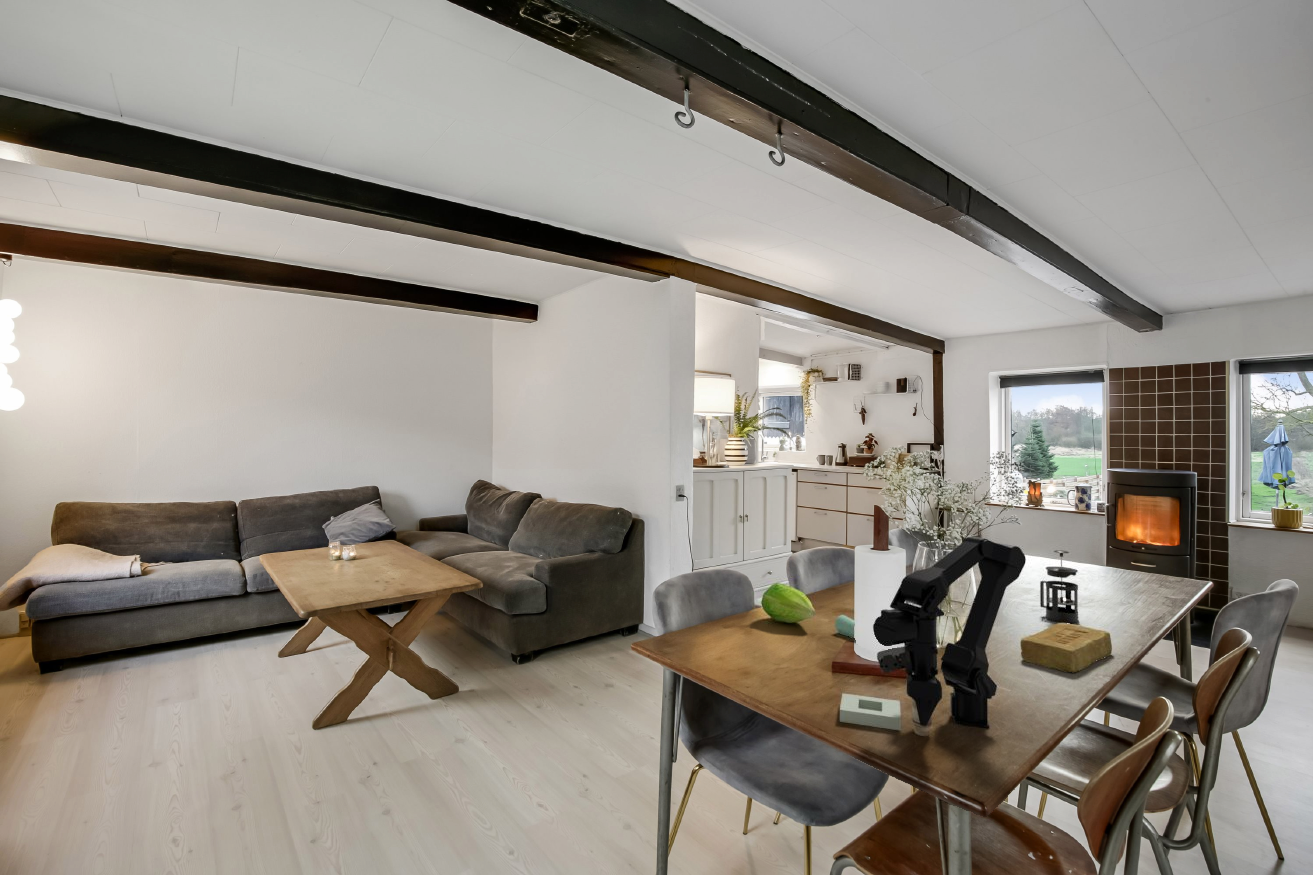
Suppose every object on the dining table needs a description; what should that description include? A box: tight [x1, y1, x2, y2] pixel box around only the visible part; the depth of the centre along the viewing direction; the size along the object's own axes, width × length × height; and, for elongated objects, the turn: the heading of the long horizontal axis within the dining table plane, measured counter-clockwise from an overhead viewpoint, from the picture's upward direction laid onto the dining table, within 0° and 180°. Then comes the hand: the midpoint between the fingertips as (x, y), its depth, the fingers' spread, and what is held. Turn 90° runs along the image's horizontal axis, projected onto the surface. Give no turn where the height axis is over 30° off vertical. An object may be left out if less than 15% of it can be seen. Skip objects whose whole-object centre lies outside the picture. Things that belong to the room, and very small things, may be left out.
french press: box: [1039, 549, 1080, 624], centre depth 204 cm, size 12×9×23 cm
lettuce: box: [760, 582, 816, 623], centre depth 200 cm, size 14×20×12 cm
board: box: [839, 693, 902, 732], centre depth 132 cm, size 12×9×2 cm
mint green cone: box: [834, 614, 856, 639], centre depth 179 cm, size 5×6×27 cm
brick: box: [1019, 622, 1113, 674], centre depth 169 cm, size 13×26×7 cm, turn 126°
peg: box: [911, 698, 933, 737], centre depth 125 cm, size 4×4×9 cm
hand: (921, 715), depth 125 cm, fingers open, 9 cm apart
